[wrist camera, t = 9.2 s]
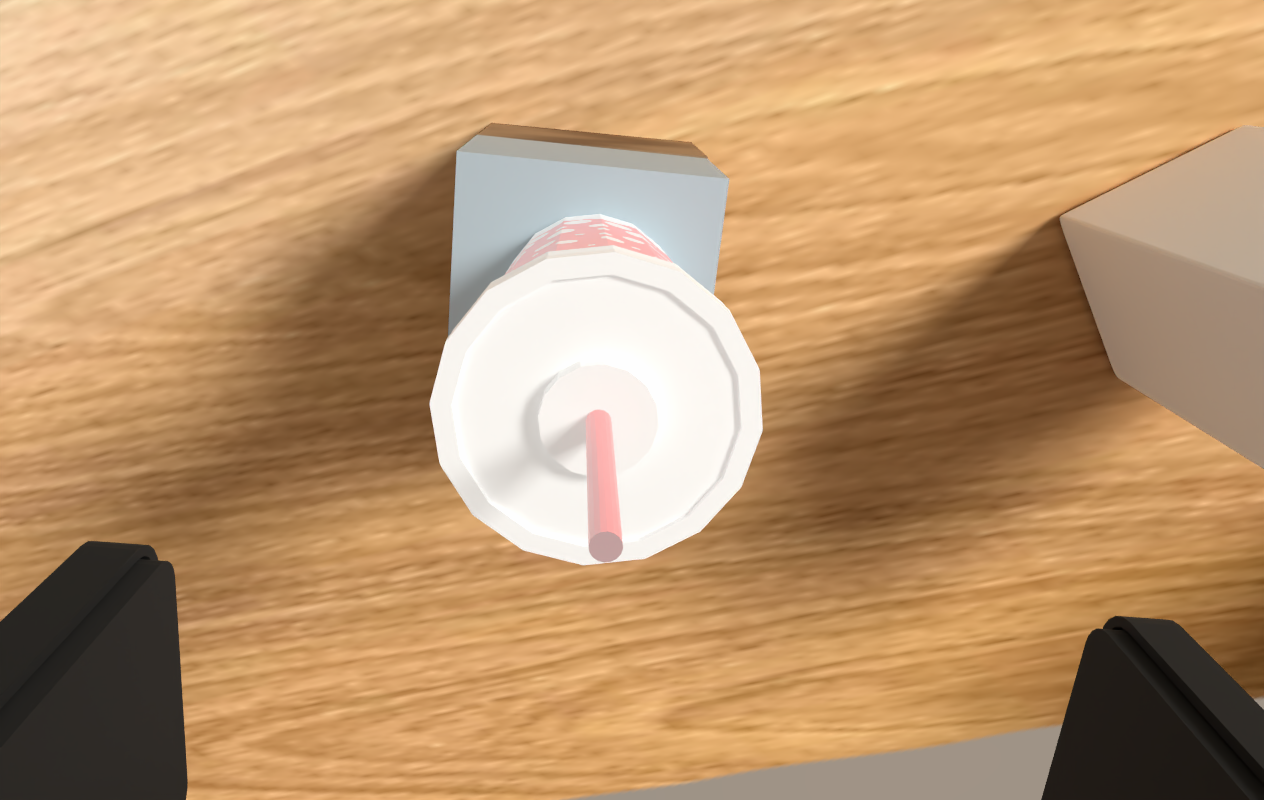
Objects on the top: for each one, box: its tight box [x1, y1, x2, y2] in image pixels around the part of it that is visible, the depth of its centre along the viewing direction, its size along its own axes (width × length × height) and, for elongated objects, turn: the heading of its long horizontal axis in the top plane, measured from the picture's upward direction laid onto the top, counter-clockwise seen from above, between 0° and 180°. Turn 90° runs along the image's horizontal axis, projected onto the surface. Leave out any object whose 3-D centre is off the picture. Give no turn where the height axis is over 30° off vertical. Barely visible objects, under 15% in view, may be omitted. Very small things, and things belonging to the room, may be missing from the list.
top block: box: [448, 135, 729, 337], centre depth 29 cm, size 7×7×5 cm
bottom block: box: [477, 123, 707, 159], centre depth 34 cm, size 7×7×5 cm
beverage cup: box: [429, 214, 763, 565], centre depth 20 cm, size 6×6×14 cm
